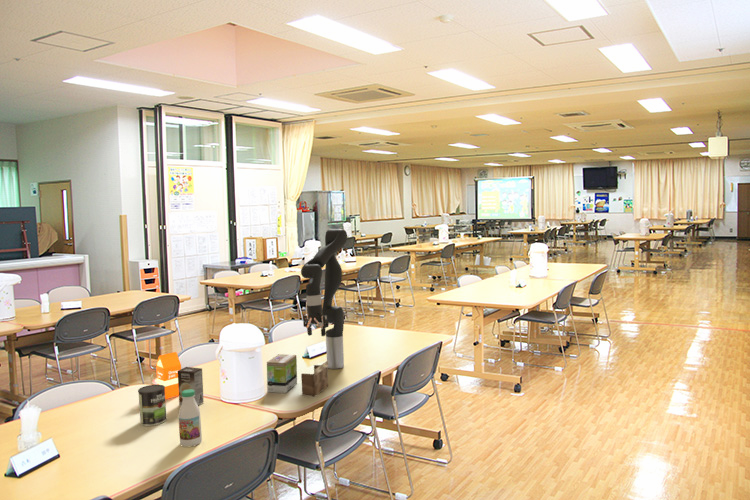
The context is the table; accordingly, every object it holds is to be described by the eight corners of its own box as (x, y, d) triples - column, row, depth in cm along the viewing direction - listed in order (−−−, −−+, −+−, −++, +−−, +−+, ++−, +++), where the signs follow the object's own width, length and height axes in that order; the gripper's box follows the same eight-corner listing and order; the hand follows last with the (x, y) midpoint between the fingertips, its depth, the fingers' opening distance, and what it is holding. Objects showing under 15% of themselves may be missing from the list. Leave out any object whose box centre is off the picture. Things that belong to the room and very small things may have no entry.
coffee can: (172, 419, 227) (170, 386, 226) (150, 428, 218) (148, 394, 217) (156, 414, 232) (154, 382, 231) (134, 423, 224) (132, 390, 223)
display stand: (315, 384, 266) (314, 360, 265) (329, 385, 264) (328, 360, 263) (302, 395, 252) (301, 369, 251) (316, 396, 250) (315, 370, 249)
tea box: (287, 393, 255) (285, 362, 254) (266, 392, 257) (265, 362, 256) (297, 383, 270) (296, 353, 268) (278, 382, 272) (277, 353, 270)
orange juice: (183, 394, 258) (180, 353, 256) (165, 399, 252) (162, 357, 250) (175, 390, 263) (172, 350, 262) (157, 395, 257) (154, 354, 255)
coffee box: (178, 405, 243) (176, 370, 242) (187, 400, 249) (185, 366, 248) (195, 407, 240) (193, 372, 239) (204, 402, 246) (202, 367, 245)
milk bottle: (183, 439, 207) (180, 388, 205) (204, 438, 207) (201, 386, 206) (177, 448, 199) (174, 395, 197) (199, 446, 200) (196, 393, 198)
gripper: (329, 302, 272) (332, 334, 273) (308, 302, 280) (310, 333, 281) (320, 305, 266) (323, 338, 267) (298, 304, 274) (301, 336, 275)
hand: (316, 335), depth 274 cm, fingers open, 8 cm apart
